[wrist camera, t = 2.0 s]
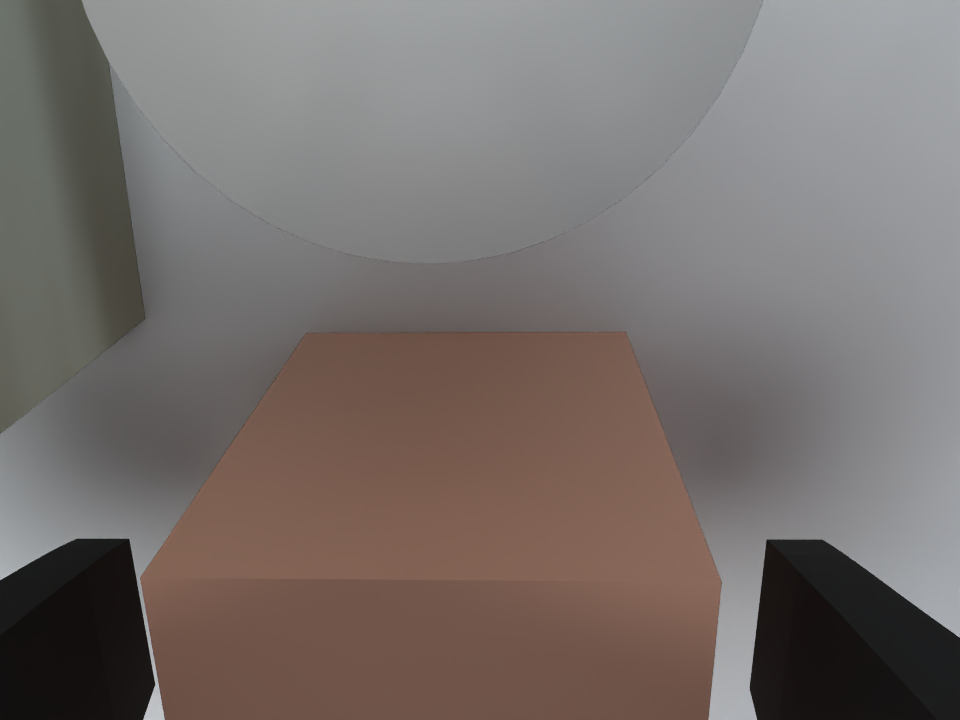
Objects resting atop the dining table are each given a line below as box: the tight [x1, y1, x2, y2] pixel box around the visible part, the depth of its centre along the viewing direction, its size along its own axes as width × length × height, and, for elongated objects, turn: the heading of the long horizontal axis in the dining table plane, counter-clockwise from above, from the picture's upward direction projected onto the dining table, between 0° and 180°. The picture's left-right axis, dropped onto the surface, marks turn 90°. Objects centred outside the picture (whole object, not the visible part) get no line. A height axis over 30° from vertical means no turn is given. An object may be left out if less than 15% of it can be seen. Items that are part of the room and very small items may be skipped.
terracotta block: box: [140, 332, 722, 720], centre depth 10 cm, size 4×4×6 cm
